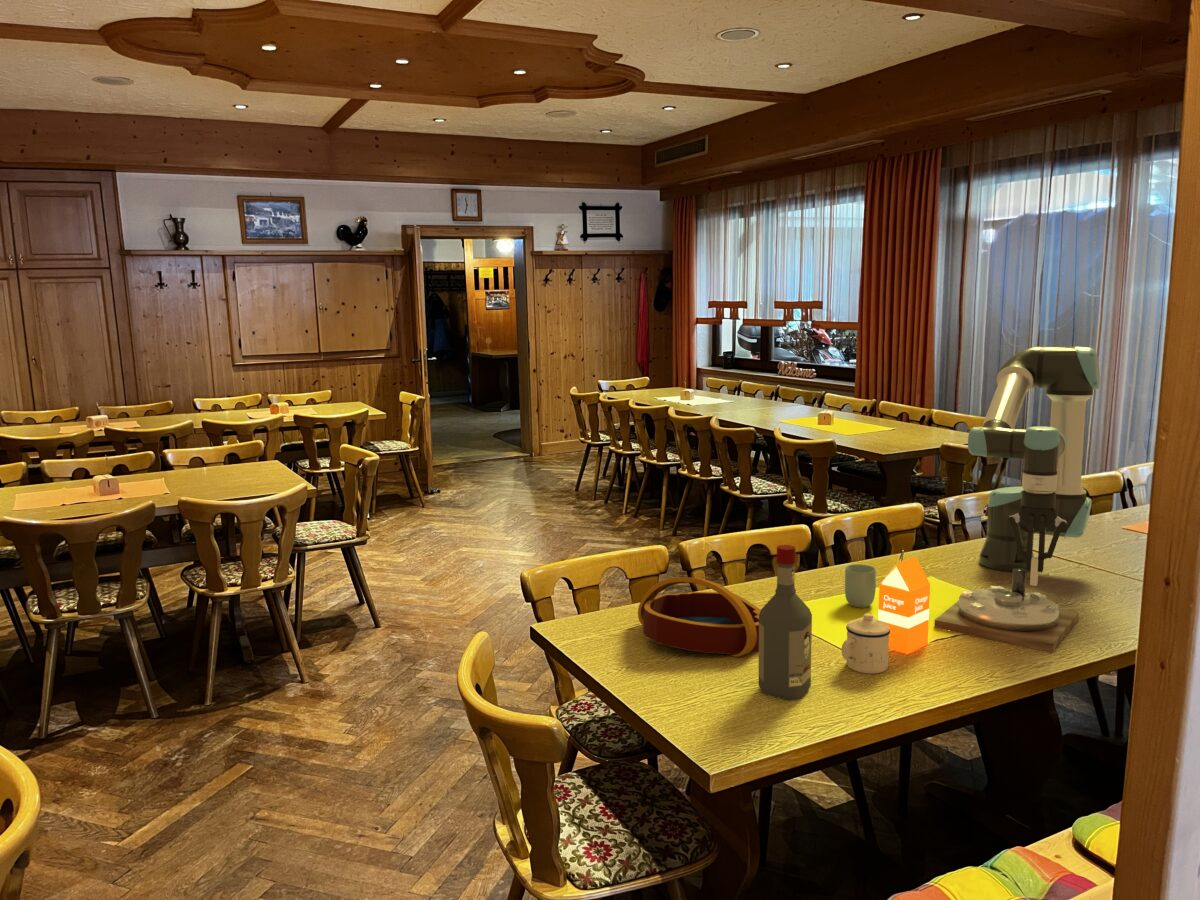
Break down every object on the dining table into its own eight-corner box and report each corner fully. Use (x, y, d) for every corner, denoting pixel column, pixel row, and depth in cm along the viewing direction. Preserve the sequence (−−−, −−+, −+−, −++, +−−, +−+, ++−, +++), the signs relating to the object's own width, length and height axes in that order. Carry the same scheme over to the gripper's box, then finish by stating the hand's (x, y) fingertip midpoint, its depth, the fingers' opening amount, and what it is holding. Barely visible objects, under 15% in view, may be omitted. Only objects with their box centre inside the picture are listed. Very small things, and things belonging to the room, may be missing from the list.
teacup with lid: (866, 655, 194) (867, 605, 192) (898, 668, 186) (900, 616, 185) (826, 666, 188) (827, 615, 186) (858, 681, 180) (859, 627, 179)
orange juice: (877, 644, 200) (879, 560, 197) (898, 635, 205) (900, 553, 202) (907, 654, 194) (910, 567, 191) (928, 644, 200) (931, 560, 196)
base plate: (968, 599, 229) (968, 591, 229) (1078, 619, 213) (1079, 610, 213) (934, 627, 210) (934, 618, 209) (1052, 652, 193) (1053, 642, 193)
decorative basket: (790, 653, 203) (796, 589, 202) (707, 669, 183) (713, 599, 183) (685, 619, 228) (690, 562, 227) (602, 630, 209) (607, 568, 208)
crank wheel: (1045, 637, 196) (1047, 599, 194) (945, 617, 210) (947, 582, 208) (1068, 611, 212) (1070, 575, 211) (974, 594, 226) (975, 561, 225)
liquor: (754, 693, 176) (755, 549, 171) (772, 677, 184) (773, 539, 179) (797, 703, 171) (799, 555, 166) (814, 686, 178) (816, 544, 174)
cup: (841, 607, 225) (842, 570, 224) (847, 599, 232) (848, 562, 231) (872, 612, 222) (873, 574, 220) (877, 602, 228) (878, 566, 227)
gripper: (1007, 491, 211) (1003, 584, 215) (1068, 495, 205) (1062, 591, 208) (1011, 485, 218) (1006, 576, 221) (1070, 489, 211) (1064, 583, 215)
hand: (1033, 583), depth 215 cm, fingers closed
